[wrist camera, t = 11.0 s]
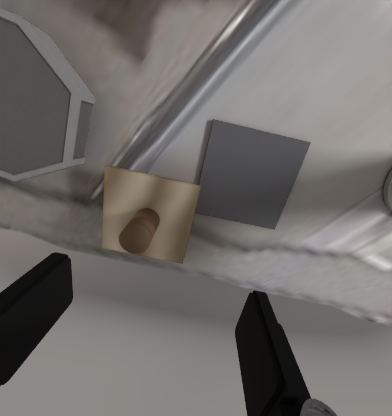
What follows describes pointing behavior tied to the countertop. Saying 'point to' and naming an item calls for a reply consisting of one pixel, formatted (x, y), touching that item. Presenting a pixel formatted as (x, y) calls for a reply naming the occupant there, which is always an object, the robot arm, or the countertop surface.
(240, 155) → the mat
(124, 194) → the cover
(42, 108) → the first aid kit
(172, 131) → the countertop surface
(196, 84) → the countertop surface
